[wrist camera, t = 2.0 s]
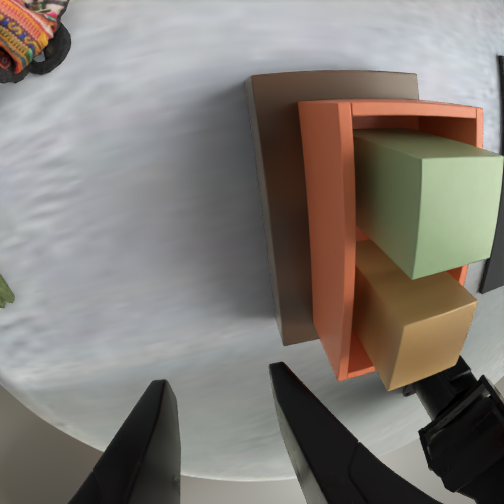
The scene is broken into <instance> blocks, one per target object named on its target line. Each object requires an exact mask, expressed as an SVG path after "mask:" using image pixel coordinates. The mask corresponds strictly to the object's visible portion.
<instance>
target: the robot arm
mask: <svg viewBox="0 0 504 504" xmlns="http://www.w3.org/2000/svg"><path fill="white" fill-rule="evenodd" d="M269 374H270V380H271V386H272V391H273V396H274V401H275V406H276V411H277V416H278V420H279V425H280V430H281V434H282V437H283V440H284V443H285V446H286V449H287V451H288V454H289V457H290V459H291V462H292V465H293V467H294V470H295V473H296V475H297V478H298V481H299V483H300V486H301V489H302V491H303V494H304V496H305V499H306V502H307V504H443V503H441V502H439V501H437V500H435V499H433V498H432V497H430V496H429V495H427V494H425V493H424V492H422V491H421V490H419V489H418V488H417V487H415V486H414V485H412V484H411V483H409V482H408V481H406V480H405V479H403V478H402V477H401V476H399V475H398V474H396V473H395V472H394V471H392V470H391V469H390V468H388V467H387V466H386V465H385V464H383V463H382V462H381V461H380V460H379V459H378V458H377V457H375V456H374V455H373V454H372V453H371V452H370V451H369V450H368V449H367V448H366V447H365V446H364V445H363V444H362V443H361V442H358V439H357V438H356V437H355V436H354V435H353V434H352V433H351V432H350V431H349V430H348V429H347V428H346V427H345V426H344V425H343V424H342V423H341V422H340V421H339V420H338V419H337V418H336V417H335V416H334V415H333V414H332V413H331V412H330V411H329V410H328V409H327V408H326V407H325V406H324V405H323V404H322V403H321V402H320V400H319V399H318V398H317V397H316V396H315V395H314V394H313V393H312V392H311V391H310V390H309V389H308V388H307V387H306V386H305V385H304V384H303V382H302V381H301V380H300V379H299V378H298V377H297V376H296V375H295V374H294V373H293V372H292V371H291V370H290V368H289V367H288V366H287V365H286V364H285V363H284V362H277V363H272V364H269ZM415 393H416V394H417V396H418V397H419V399H420V401H421V402H422V404H423V406H424V408H425V409H426V411H427V413H428V415H429V416H430V418H431V420H432V422H430V423H429V424H428V425H427V426H425V427H424V428H421V429H420V430H419V431H418V433H419V436H420V441H421V444H422V447H423V450H424V454H425V457H426V460H427V463H428V468H429V469H430V470H431V471H434V473H435V474H436V475H437V476H439V477H441V479H442V481H443V484H444V487H445V488H446V489H447V490H449V491H451V492H453V493H454V492H458V493H460V494H462V495H465V496H467V497H469V498H472V499H474V500H475V502H476V503H477V504H504V398H503V396H502V395H501V394H500V392H499V391H498V390H497V389H496V387H495V386H494V385H493V383H492V382H491V381H490V380H489V379H488V378H487V377H486V376H484V375H482V376H481V377H480V379H479V380H478V381H477V379H476V378H475V376H474V375H473V374H472V372H471V369H470V367H469V366H468V365H467V363H466V362H465V361H464V359H463V358H462V357H461V356H460V355H459V357H458V360H457V362H456V365H454V366H452V367H450V368H448V369H445V370H443V371H441V372H438V373H436V374H433V375H431V376H428V377H426V378H423V379H421V380H418V381H416V382H413V383H410V384H408V385H405V387H404V390H403V393H402V394H403V395H404V397H407V396H409V395H412V394H415ZM488 394H491V395H490V396H489V397H487V395H488ZM180 470H181V444H180V433H179V421H178V409H177V400H176V397H175V394H174V392H173V390H172V388H171V386H170V384H169V382H168V381H167V380H166V379H162V380H154V381H152V382H151V383H150V385H149V386H148V388H147V389H146V391H145V392H144V394H143V395H142V397H141V398H140V400H139V401H138V402H137V404H136V405H135V407H134V408H133V410H132V411H131V413H130V414H129V416H128V417H127V419H126V420H125V422H124V423H123V425H122V426H121V428H120V429H119V431H118V432H117V434H116V435H115V437H114V438H113V440H112V441H111V443H110V444H109V446H108V447H107V449H106V450H105V452H104V453H103V455H102V456H101V458H100V459H99V461H98V462H97V464H96V465H95V467H94V468H93V471H91V472H90V474H89V475H88V477H87V478H86V480H85V481H84V483H83V484H82V486H81V487H80V488H79V490H78V491H77V493H76V494H75V495H74V496H73V498H72V499H71V500H70V501H69V503H68V504H180Z"/></svg>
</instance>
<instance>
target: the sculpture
mask: <svg viewBox="0 0 504 504" xmlns="http://www.w3.org/2000/svg"><path fill="white" fill-rule="evenodd" d="M4 300H5V301H6V302H9V303H13V301H14V295H13V293H12V292H11V290H10V289H9V287H8V285H7V284H6V282H5V281H4V279H3V278H2V276H1V275H0V308H4V306H5V301H4Z"/></svg>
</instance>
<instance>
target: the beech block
mask: <svg viewBox="0 0 504 504" xmlns="http://www.w3.org/2000/svg"><path fill="white" fill-rule="evenodd" d="M477 303H478V300H477V299H476V298H475V297H474V296H473V295H472V294H471V293H470V292H468V291H467V290H466V289H465V288H464V287H463V286H462V285H461V284H460V283H459V282H458V281H457V280H456V279H454V278H453V277H452V276H451V275H450V274H449V273H448V272H447V271H443V272H440V273H436V274H432V275H428V276H425V277H421V278H417V279H413V280H412V279H410V277H409V276H408V275H407V274H406V273H405V272H404V271H403V270H402V269H401V268H400V267H399V266H398V265H397V264H396V263H395V262H394V261H393V260H392V259H391V258H390V257H389V256H388V255H387V254H386V253H385V252H384V251H383V250H382V249H381V248H380V247H379V246H378V245H377V244H376V243H375V242H374V241H373V240H371V239H370V240H365V241H359V242H356V248H355V281H354V300H353V316H352V328H353V329H354V331H355V333H356V335H357V336H358V338H359V340H360V342H361V343H362V345H363V347H364V349H365V351H366V352H367V354H368V356H369V358H370V360H371V362H372V363H373V365H374V367H375V369H376V371H377V373H378V374H379V376H380V378H381V380H382V382H383V384H384V386H385V387H386V389H387V391H391V390H394V389H397V388H399V387H402V386H405V385H408V384H410V383H413V382H416V381H418V380H421V379H423V378H426V377H428V376H431V375H433V374H436V373H438V372H441V371H443V370H445V369H448V368H450V367H452V366H454V365H456V362H457V360H458V357H459V355H460V352H461V350H462V347H463V345H464V342H465V339H466V336H467V334H468V331H469V328H470V325H471V322H472V319H473V316H474V313H475V310H476V306H477Z"/></svg>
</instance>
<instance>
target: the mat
mask: <svg viewBox="0 0 504 504" xmlns="http://www.w3.org/2000/svg"><path fill="white" fill-rule="evenodd" d="M499 63H500V73H501V85H502V104H503V144H502V156H504V56H499ZM503 285H504V162H503V175H502V186H501V195H500V202H499V210H498V216H497V223H496V228H495V234H494V239H493V244H492V249H491V254H490V258H488V260H487V264H486V268H485V272H484V276H483V280H482V284H481V288H480V291H479V292H480V293H481V294H483V293H486V292H488V291H491V290H493V289H496V288H498V287H501V286H503Z"/></svg>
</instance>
